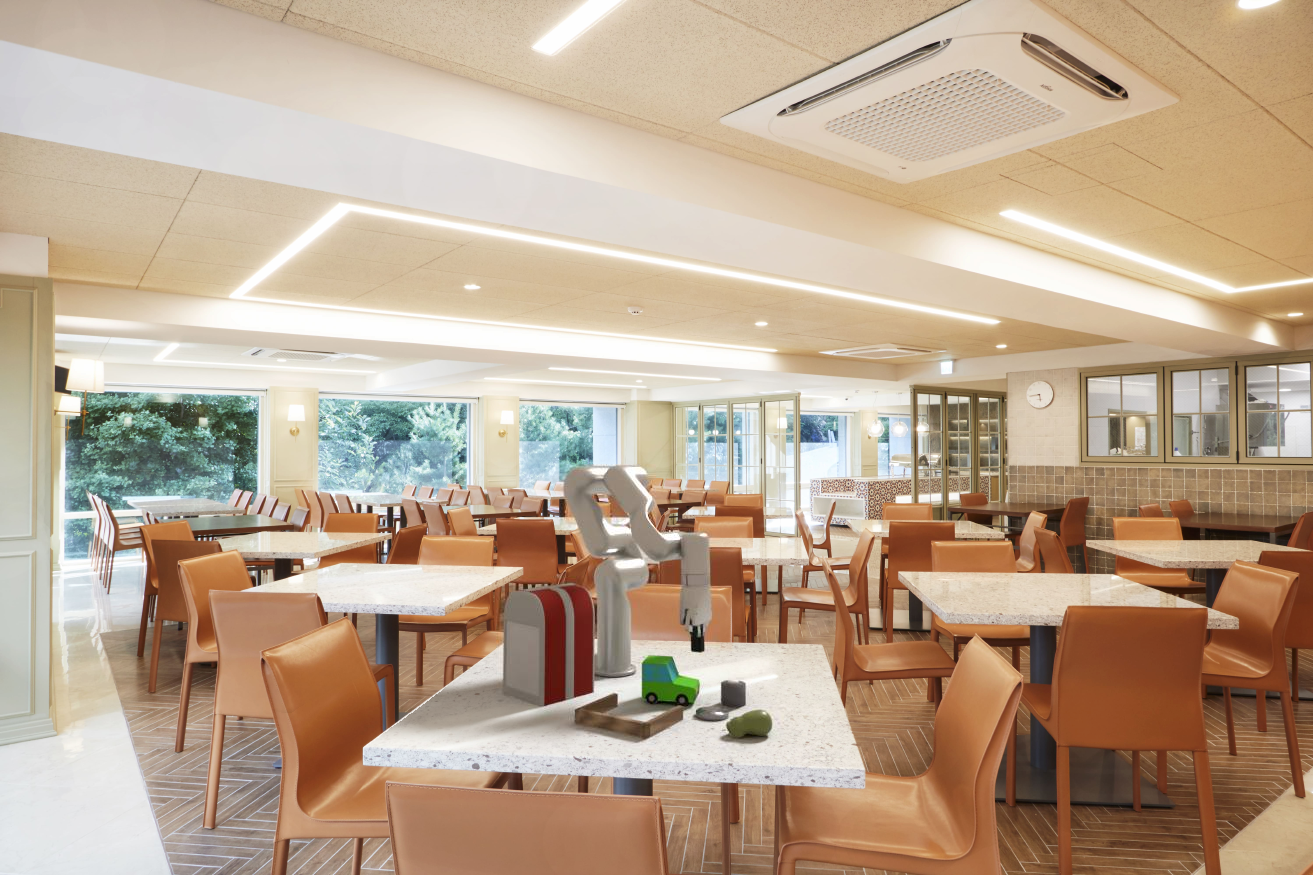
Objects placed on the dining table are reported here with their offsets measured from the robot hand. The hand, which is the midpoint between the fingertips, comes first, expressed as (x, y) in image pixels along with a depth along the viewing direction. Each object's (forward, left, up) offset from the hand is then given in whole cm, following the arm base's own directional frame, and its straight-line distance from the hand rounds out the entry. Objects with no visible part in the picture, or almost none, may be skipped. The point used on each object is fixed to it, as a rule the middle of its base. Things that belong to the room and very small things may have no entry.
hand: (697, 651), depth 200 cm
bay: (-1, -30, -10) cm, 32 cm away
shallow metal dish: (+13, -17, -10) cm, 24 cm away
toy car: (-1, -12, -10) cm, 16 cm away
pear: (+26, -24, -10) cm, 37 cm away
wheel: (+13, -6, -10) cm, 18 cm away
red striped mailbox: (-31, -23, -10) cm, 40 cm away
